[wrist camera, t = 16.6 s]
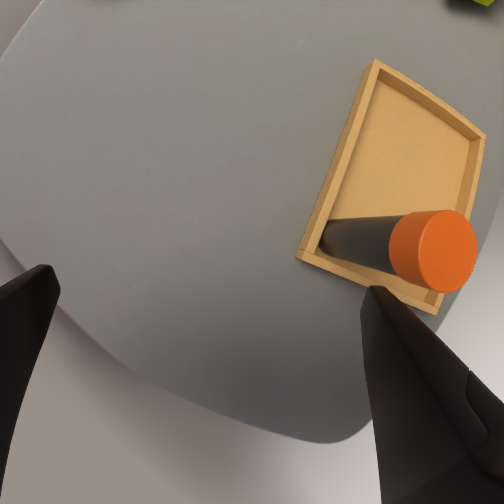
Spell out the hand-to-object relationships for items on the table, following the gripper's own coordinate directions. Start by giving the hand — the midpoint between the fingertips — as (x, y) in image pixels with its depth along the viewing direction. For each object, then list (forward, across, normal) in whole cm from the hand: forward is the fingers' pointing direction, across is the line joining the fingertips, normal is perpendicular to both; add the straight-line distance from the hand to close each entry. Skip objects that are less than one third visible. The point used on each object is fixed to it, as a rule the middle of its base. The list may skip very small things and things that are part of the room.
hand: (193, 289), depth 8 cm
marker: (+12, -6, +5) cm, 14 cm away
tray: (+15, -11, +2) cm, 19 cm away
